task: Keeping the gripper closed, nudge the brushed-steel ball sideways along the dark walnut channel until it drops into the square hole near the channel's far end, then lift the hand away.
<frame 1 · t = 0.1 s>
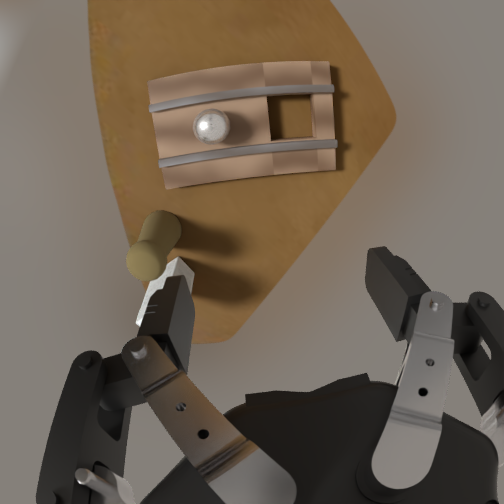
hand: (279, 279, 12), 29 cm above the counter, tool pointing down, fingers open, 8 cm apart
steel ball: (211, 126, 32), point 4 cm above the counter, touching walnut channel
olive knob stopper: (162, 228, 42), on the counter
walnut channel: (244, 120, 35), on the counter
skincare box: (174, 272, 46), on the counter
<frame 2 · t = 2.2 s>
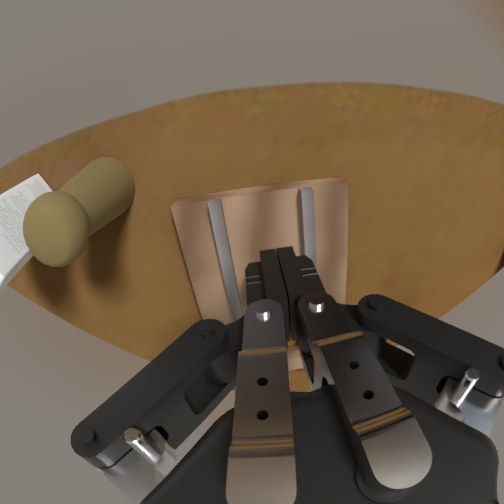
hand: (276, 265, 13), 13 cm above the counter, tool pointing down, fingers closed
olive knob stopper: (106, 187, 24), on the counter
walnut channel: (271, 291, 31), on the counter
skincare box: (47, 204, 25), on the counter
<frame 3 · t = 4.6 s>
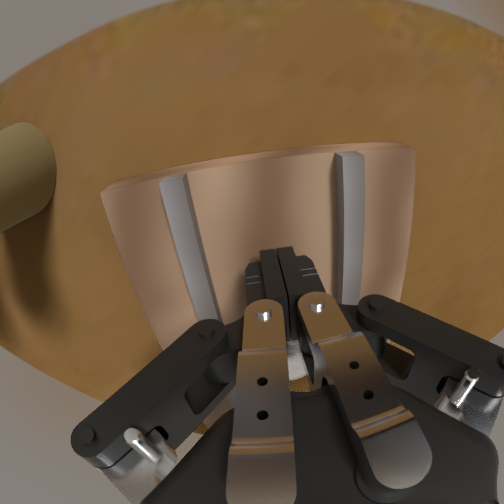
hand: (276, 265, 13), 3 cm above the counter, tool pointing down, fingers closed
steel ball: (284, 336, 14), point 4 cm above the counter, tilted 12°, touching gripper, walnut channel
olive knob stopper: (22, 169, 13), on the counter
walnut channel: (280, 328, 19), on the counter
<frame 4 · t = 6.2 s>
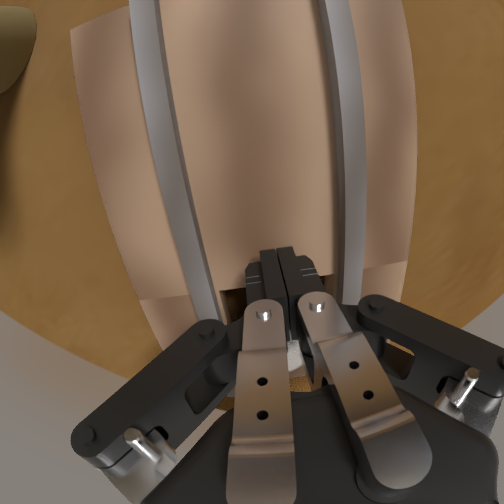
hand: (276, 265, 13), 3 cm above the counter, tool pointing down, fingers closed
steel ball: (279, 336, 16), point 2 cm above the counter, tilted 108°
olive knob stopper: (4, 50, 9), on the counter
walnut channel: (266, 213, 15), on the counter
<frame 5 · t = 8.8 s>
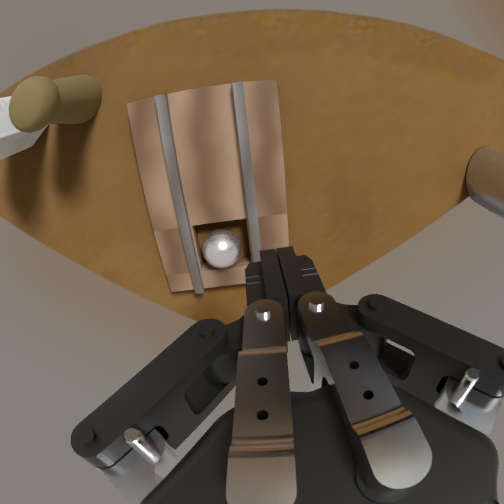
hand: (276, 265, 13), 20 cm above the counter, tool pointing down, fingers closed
steel ball: (221, 248, 33), point 2 cm above the counter, tilted 122°
olive knob stopper: (80, 99, 25), on the counter
walnut channel: (215, 190, 32), on the counter
skincare box: (30, 120, 25), on the counter
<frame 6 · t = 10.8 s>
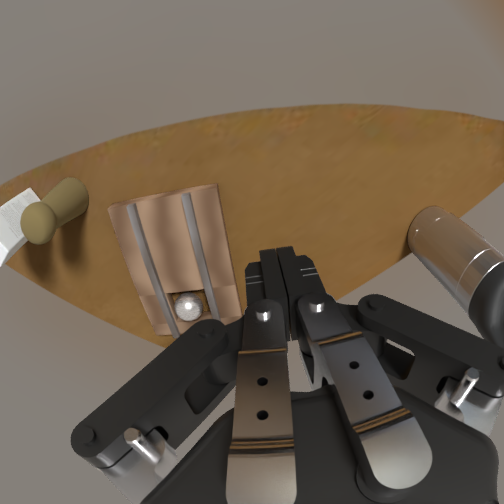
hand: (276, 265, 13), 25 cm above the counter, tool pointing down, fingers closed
steel ball: (188, 306, 43), point 2 cm above the counter, tilted 132°
olive knob stopper: (72, 196, 36), on the counter
walnut channel: (181, 266, 42), on the counter
skincare box: (36, 208, 36), on the counter
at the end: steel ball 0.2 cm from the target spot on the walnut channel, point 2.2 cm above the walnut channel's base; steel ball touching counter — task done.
